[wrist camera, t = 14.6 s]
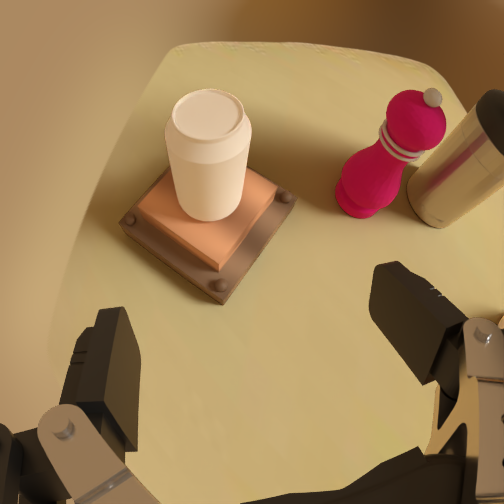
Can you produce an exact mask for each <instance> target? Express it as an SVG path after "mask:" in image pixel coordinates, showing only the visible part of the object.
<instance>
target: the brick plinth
mask: <svg viewBox="0 0 504 504" xmlns="http://www.w3.org/2000/svg"><path fill="white" fill-rule="evenodd" d="M296 200H297V197H296V196H294V195H293V194H291V192H289V191H286V190H285V189H283V188H282V187H280V186H279V185H277V184H275V183H274V182H272V181H271V180H269V179H267V178H266V177H264V176H263V175H261V174H259V173H258V172H256V171H255V170H253V169H251V168H250V167H248V166H246V172H245V178H244V184H243V190H242V196H241V200H240V202H239V204H238V206H237V208H236V209H235V210H234V211H233V212H232V213H231V214H230V215H229V216H227V217H225V218H223V219H221V220H217V221H201V220H197V219H195V218H193V217H191V216H189V215H188V214H187V213H186V212H185V211H184V210H183V209H182V207H181V206H180V204H179V201H178V198H177V194H176V189H175V185H174V180H173V176H172V171H171V166H169V167H168V168H167V169H166V170H165V172H164V173H163V174H162V175H161V176H160V177H159V178H158V179H157V180H156V181H155V182H154V183H153V184H152V185H151V187H150V188H149V189H148V190H147V191H146V192H145V193H144V194H143V195H142V196H141V198H140V199H139V200H138V201H137V202H136V203H135V204H134V206H133V207H132V208H131V209H130V210H129V211H128V212H127V213H126V214H125V216H124V217H123V218H122V219H121V221H120V222H119V224H120V226H121V227H122V229H123V230H124V232H125V233H126V234H127V235H128V236H130V237H131V238H132V239H134V240H135V241H136V242H137V243H139V244H140V245H141V246H143V247H144V248H145V249H147V250H148V251H149V252H150V253H152V254H153V255H154V256H156V257H157V258H158V259H160V260H161V261H162V262H164V263H165V264H166V265H168V266H169V267H170V268H172V269H173V270H175V271H176V272H177V273H179V274H180V275H181V276H183V277H184V278H185V279H187V280H188V281H190V282H191V283H192V284H194V285H195V286H196V287H198V288H199V289H201V290H202V291H203V292H205V293H206V294H208V295H209V296H210V297H212V298H213V299H215V300H216V301H218V302H219V303H220V304H222V305H224V304H225V302H226V301H227V300H228V298H229V297H230V295H231V294H232V293H233V291H234V290H235V288H236V287H237V286H238V284H239V283H240V281H241V280H242V279H243V277H244V276H245V274H246V273H247V272H248V270H249V269H250V267H251V266H252V265H253V263H254V262H255V260H256V259H257V258H258V256H259V255H260V254H261V252H262V251H263V249H264V248H265V247H266V245H267V244H268V242H269V241H270V240H271V238H272V237H273V235H274V234H275V232H276V231H277V230H278V228H279V227H280V225H281V224H282V223H283V221H284V220H285V218H286V217H287V216H288V214H289V213H290V211H291V210H292V208H293V206H294V204H295V202H296Z"/></svg>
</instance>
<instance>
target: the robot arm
mask: <svg viewBox="0 0 504 504" xmlns="http://www.w3.org/2000/svg"><path fill="white" fill-rule="evenodd" d="M503 186H504V92H503V91H501V90H495V89H494V90H489V91H487V92H486V93H485V94H484V95H483V96H482V97H481V99H480V100H479V101H478V102H477V104H476V105H475V106H474V107H473V108H472V109H471V111H470V112H469V113H468V114H467V115H466V116H465V117H464V119H463V120H462V121H461V122H460V123H459V125H458V126H457V127H456V128H455V129H454V130H453V131H452V132H451V134H450V135H449V136H448V137H447V138H446V139H445V140H444V141H443V143H442V144H441V145H440V146H439V147H438V148H437V149H436V150H435V151H434V152H433V154H432V155H431V156H430V157H429V158H428V159H427V160H426V161H425V162H424V163H423V164H422V165H421V166H420V167H419V169H418V170H417V171H416V172H415V173H414V174H413V175H412V176H411V177H410V178H409V181H408V183H407V195H408V199H409V201H410V204H411V206H412V208H413V209H414V211H415V212H416V214H417V215H418V216H419V217H420V218H421V219H422V220H423V221H424V222H426V223H427V224H429V225H430V226H433V227H436V228H445V227H447V226H449V225H450V224H452V223H453V222H455V221H456V220H458V219H459V218H460V217H462V216H463V215H465V214H466V213H468V212H469V211H470V210H472V209H473V208H475V207H476V206H477V205H479V204H480V203H481V202H483V201H484V200H486V199H487V198H488V197H490V196H491V195H492V194H494V193H495V192H496V191H498V190H499V189H500V188H501V187H503ZM369 312H370V315H371V318H372V320H373V321H374V323H375V324H376V325H377V326H378V328H379V329H380V330H381V331H382V333H383V334H384V335H385V337H386V338H387V339H388V340H389V342H390V343H391V344H392V346H393V347H394V348H395V350H396V351H397V352H398V353H399V355H400V356H401V357H402V359H403V360H404V361H405V363H406V364H407V365H408V367H409V368H410V369H411V371H412V372H413V373H414V375H415V376H416V377H417V379H418V380H419V381H420V383H421V384H422V385H425V384H427V383H430V382H432V381H434V380H436V381H437V382H438V385H437V387H436V390H435V401H434V413H433V423H432V432H431V438H430V441H429V444H428V446H427V449H426V451H425V454H424V455H423V453H422V452H421V450H420V448H419V447H418V446H417V447H415V448H413V449H411V450H409V451H407V452H405V453H403V454H401V455H398V456H396V457H394V458H392V459H389V460H387V461H385V462H382V463H380V464H379V465H378V466H376V467H375V468H373V469H372V470H371V471H369V472H368V473H366V474H365V475H363V476H362V477H360V478H359V479H357V480H356V481H354V482H353V483H351V484H350V485H348V486H347V487H345V488H343V489H340V490H334V491H323V492H308V493H288V494H284V495H280V496H276V497H271V498H267V499H262V500H257V501H251V502H246V503H240V504H504V329H500V328H499V327H498V326H497V325H496V324H495V323H493V322H492V321H490V320H488V319H485V318H478V317H476V318H471V319H468V318H467V317H466V316H465V315H464V314H463V313H462V312H461V311H460V310H459V309H458V308H457V307H456V306H455V305H454V304H452V303H451V302H450V301H449V300H448V299H447V298H446V297H445V296H442V294H441V293H440V292H439V291H438V290H437V289H434V286H433V285H431V284H430V283H429V282H428V281H427V280H426V279H424V278H422V277H420V276H418V275H416V274H414V273H412V272H410V271H409V270H408V269H407V268H406V267H405V266H404V265H402V264H401V263H400V262H398V261H394V262H389V263H384V264H379V265H377V266H376V267H375V269H374V273H373V280H372V287H371V293H370V299H369ZM140 371H141V356H140V350H139V346H138V343H137V340H136V338H135V335H134V332H133V329H132V327H131V324H130V321H129V318H128V315H127V312H126V310H125V308H124V307H115V308H107V309H100V310H99V312H98V315H97V318H96V321H95V325H94V327H87V328H86V329H85V330H84V331H83V333H82V334H81V335H80V336H79V338H78V339H77V341H76V344H75V348H74V351H73V355H72V358H71V361H70V365H69V368H68V371H67V375H66V379H65V382H64V386H63V390H62V394H61V398H60V402H59V405H58V406H55V407H53V408H51V409H50V410H48V411H47V412H46V413H45V414H44V415H43V416H42V418H41V419H40V421H39V424H38V427H37V428H34V429H31V430H27V431H24V432H19V433H16V434H12V433H11V431H9V429H8V428H7V427H6V426H5V425H3V424H1V423H0V504H18V494H19V504H66V499H70V498H72V499H73V500H74V502H75V504H161V503H160V502H159V501H158V500H157V499H156V498H155V497H154V496H153V495H152V494H151V493H150V492H149V491H148V490H147V489H146V488H145V487H144V485H143V484H142V483H141V482H140V481H139V480H138V479H137V478H136V477H135V476H134V474H133V473H132V472H131V471H130V470H129V469H128V467H127V466H126V465H125V452H136V451H138V407H139V387H140Z"/></svg>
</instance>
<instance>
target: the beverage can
mask: <svg viewBox="0 0 504 504" xmlns="http://www.w3.org/2000/svg"><path fill="white" fill-rule="evenodd" d="M251 134H252V128H251V123H250V121H249V119H248V117H247V115H246V114H245V113H244V108H243V105H242V104H241V102H240V101H239V100H238V99H237V98H236V97H235V96H234V95H232V94H230V93H228V92H226V91H222V90H218V89H201V90H196V91H193V92H190V93H188V94H186V95H185V96H183V97H182V98H180V99H179V100H178V101H177V102H176V104H175V105H174V107H173V109H172V113H171V116H170V118H169V120H168V121H167V124H166V127H165V141H166V146H167V151H168V156H169V161H170V166H171V171H172V176H173V180H174V185H175V189H176V194H177V198H178V201H179V204H180V206H181V207H182V209H183V210H184V211H185V212H186V213H187V214H188V215H189V216H191V217H193V218H195V219H197V220H201V221H217V220H221V219H223V218H225V217H227V216H229V215H230V214H231V213H232V212H233V211H234V210H235V209H236V208H237V206H238V204H239V202H240V200H241V196H242V190H243V184H244V178H245V172H246V165H247V159H248V153H249V147H250V140H251Z"/></svg>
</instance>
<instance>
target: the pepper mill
mask: <svg viewBox="0 0 504 504" xmlns="http://www.w3.org/2000/svg"><path fill="white" fill-rule="evenodd" d="M441 103H442V95H441V93H440V92H439V91H438V90H437V89H434V88H429V89H427V90H426V91H425V92H424V93H423V92H420V91H416V90H405V91H402V92H400V93H398V94H397V95H395V96H394V97H393V98H392V100H391V101H390V102H389V104H388V106H387V111H386V119H385V120H384V122H383V124H382V125H381V126H380V128H379V139H378V141H377V142H376V143H375V144H374V145H372V146H370V147H368V148H365V149H363V150H360V151H358V152H357V153H355V154H354V155H353V156H351V157H350V158H349V160H348V161H347V162H346V163H345V165H344V167H343V169H342V175H341V179H340V180H339V182H338V183H337V185H336V189H335V195H336V199H337V201H338V204H339V205H340V207H341V208H342V209H343V210H344V211H345V212H346V213H347V214H349V215H351V216H353V217H356V218H368V217H371V216H372V215H374V214H375V213H376V212H377V211H378V210H379V209H381V208H384V207H386V206H388V205H389V204H390V203H391V202H392V201H393V200H394V198H395V197H396V195H397V194H398V191H399V188H400V184H401V177H402V171H403V169H404V167H405V166H406V165H407V163H409V162H414V161H416V160H418V159H419V158H420V156H421V155H422V154H423V153H424V152H425V150H430V149H432V148H434V147H435V146H437V145H438V144H439V143H440V142H441V140H442V139H443V137H444V134H445V131H446V118H445V115H444V113H443V110H442V109H441V107H440V104H441Z"/></svg>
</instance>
